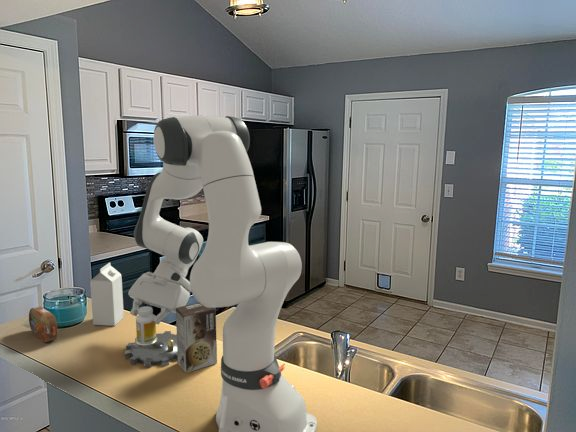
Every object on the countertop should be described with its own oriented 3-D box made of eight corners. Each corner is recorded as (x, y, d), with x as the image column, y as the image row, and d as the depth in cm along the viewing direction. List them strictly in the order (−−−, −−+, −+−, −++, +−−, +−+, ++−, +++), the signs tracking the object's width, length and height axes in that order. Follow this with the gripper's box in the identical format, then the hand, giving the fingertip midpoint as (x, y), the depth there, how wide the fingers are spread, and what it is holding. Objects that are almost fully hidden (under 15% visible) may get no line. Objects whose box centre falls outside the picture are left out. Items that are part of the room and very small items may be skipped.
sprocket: (203, 346, 127) (203, 331, 126) (155, 374, 112) (154, 358, 111) (161, 330, 136) (160, 316, 136) (111, 354, 121) (110, 339, 121)
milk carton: (93, 325, 139) (88, 268, 135) (103, 316, 146) (99, 261, 142) (114, 326, 138) (111, 269, 135) (124, 316, 145) (121, 262, 142)
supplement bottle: (159, 336, 129) (158, 305, 127) (151, 345, 124) (150, 313, 122) (141, 335, 129) (140, 304, 127) (133, 343, 124) (132, 312, 122)
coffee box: (207, 353, 123) (206, 300, 120) (217, 363, 118) (217, 308, 115) (176, 362, 118) (174, 307, 115) (185, 373, 113) (183, 315, 110)
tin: (29, 330, 135) (26, 305, 133) (39, 327, 137) (37, 302, 135) (49, 346, 125) (46, 319, 123) (60, 342, 127) (58, 316, 126)
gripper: (139, 265, 134) (113, 305, 128) (187, 278, 123) (161, 323, 117) (151, 275, 139) (127, 314, 132) (198, 288, 128) (174, 332, 122)
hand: (143, 318), depth 125 cm, fingers open, 8 cm apart
